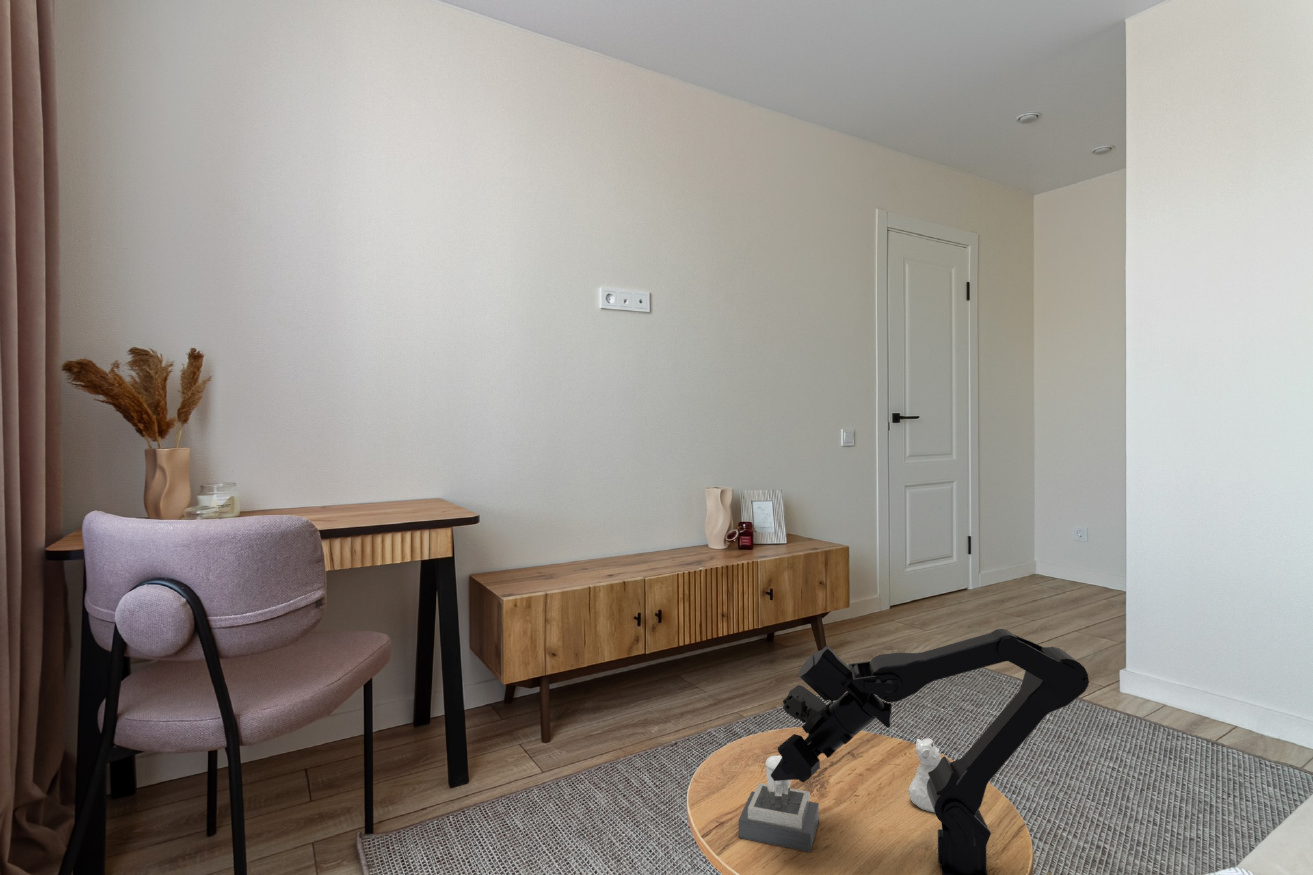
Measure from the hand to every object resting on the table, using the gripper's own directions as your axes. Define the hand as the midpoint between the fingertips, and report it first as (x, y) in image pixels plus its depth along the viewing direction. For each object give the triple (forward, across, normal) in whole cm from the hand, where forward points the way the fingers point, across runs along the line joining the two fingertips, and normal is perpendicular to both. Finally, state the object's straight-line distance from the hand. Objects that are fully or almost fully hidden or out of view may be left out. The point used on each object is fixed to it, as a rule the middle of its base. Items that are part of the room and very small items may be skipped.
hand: (784, 767), depth 118 cm
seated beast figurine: (-5, -23, +21) cm, 32 cm away
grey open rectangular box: (+8, 0, +7) cm, 11 cm away
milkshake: (+6, 0, +5) cm, 8 cm away
